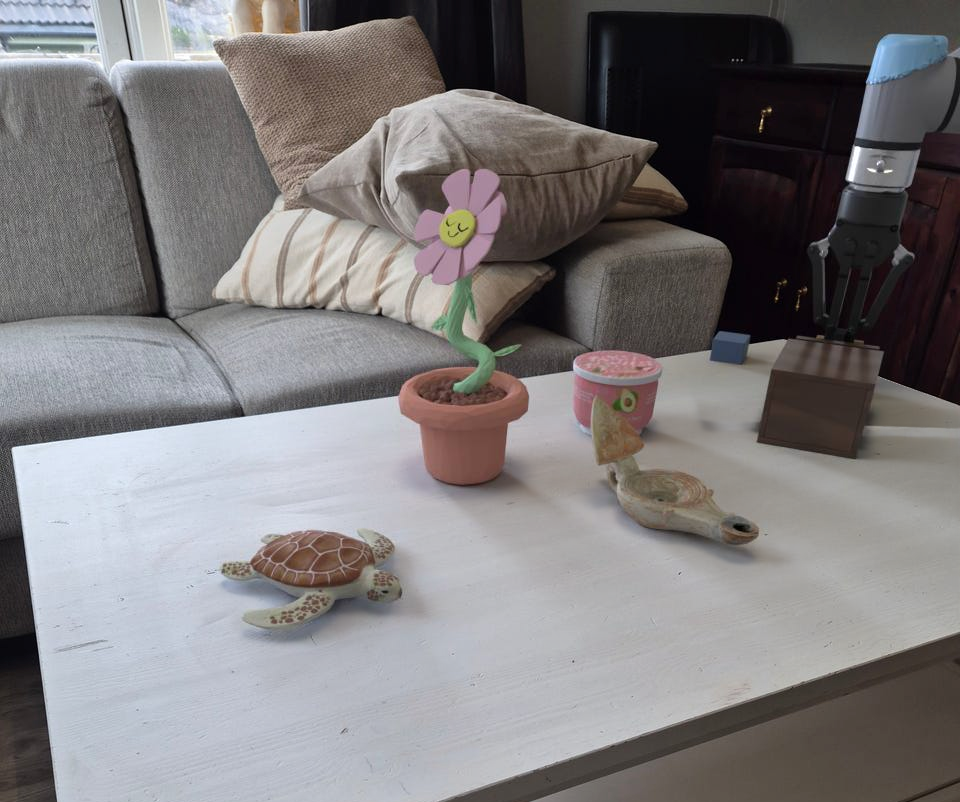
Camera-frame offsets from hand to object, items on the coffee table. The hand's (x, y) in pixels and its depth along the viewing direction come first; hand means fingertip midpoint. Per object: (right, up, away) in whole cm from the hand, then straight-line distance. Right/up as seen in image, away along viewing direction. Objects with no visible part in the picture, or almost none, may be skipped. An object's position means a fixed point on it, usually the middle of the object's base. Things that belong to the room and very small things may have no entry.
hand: (829, 379), depth 124 cm
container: (-31, -9, -11) cm, 34 cm away
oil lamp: (-29, -23, -31) cm, 48 cm away
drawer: (-2, -4, -4) cm, 6 cm away
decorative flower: (-49, -16, -22) cm, 56 cm away
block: (-11, +4, +10) cm, 15 cm away
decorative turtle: (-61, -31, -43) cm, 81 cm away
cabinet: (-6, -9, -10) cm, 15 cm away
